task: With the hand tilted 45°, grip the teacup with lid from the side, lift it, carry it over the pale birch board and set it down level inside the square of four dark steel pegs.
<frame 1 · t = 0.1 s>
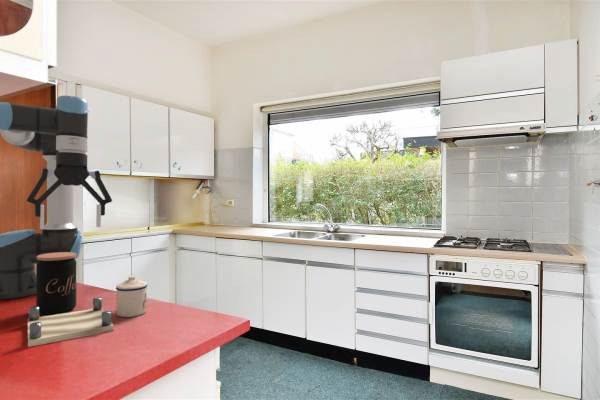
hand: (71, 227, 104), 28 cm above the counter, tool pointing down, fingers open, 13 cm apart
birch board: (69, 327, 103), on the counter
coffee jar: (56, 311, 117), on the counter
teacup with lid: (130, 312, 117), on the counter
steel pegs: (69, 315, 103), on the birch board, point 3 cm above the counter
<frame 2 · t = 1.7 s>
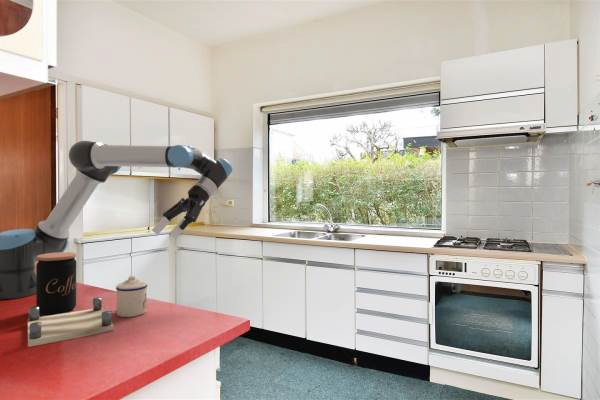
hand: (163, 234, 127), 24 cm above the counter, tool tilted 45°, fingers open, 13 cm apart
nothing on the counter moved.
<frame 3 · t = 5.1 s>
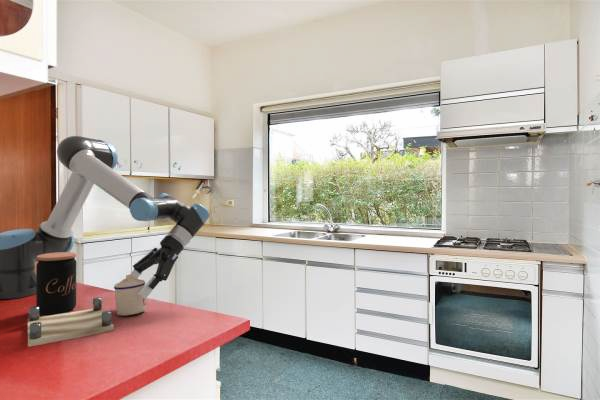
hand: (132, 292, 117), 6 cm above the counter, tool tilted 45°, fingers open, 13 cm apart
teacup with lid: (130, 311, 117), on the counter, touching gripper
everything else where it was.
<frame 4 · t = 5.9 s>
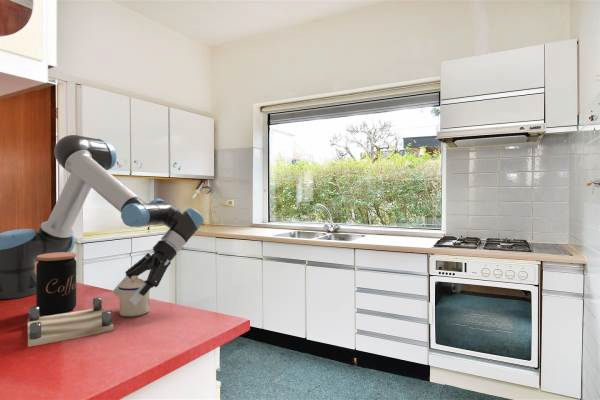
hand: (123, 298, 116), 5 cm above the counter, tool tilted 45°, fingers open, 13 cm apart
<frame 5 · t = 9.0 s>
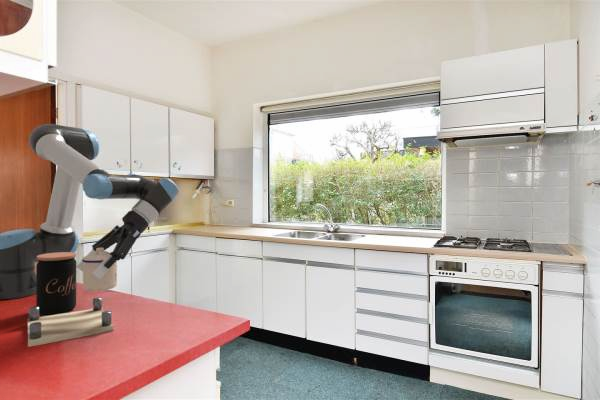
hand: (87, 272, 106), 15 cm above the counter, tool tilted 45°, fingers closed on teacup with lid, 12 cm apart
teacup with lid: (97, 287, 108), point 10 cm above the counter, touching gripper
everything else where it was.
when the fingers open (7 cm above the counter, at t = 12.0 s): teacup with lid drops 1 cm, resting on birch board.
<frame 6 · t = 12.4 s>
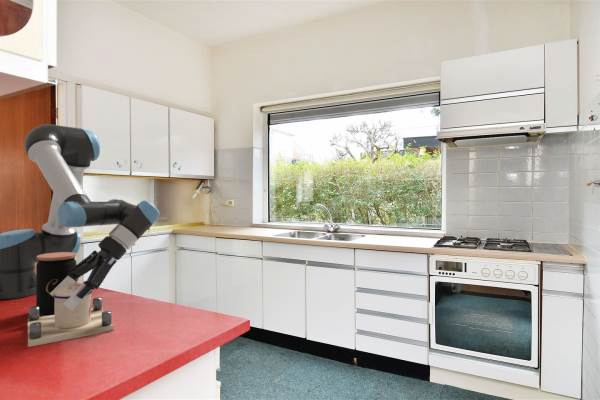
hand: (60, 302, 101), 8 cm above the counter, tool tilted 45°, fingers open, 13 cm apart
teacup with lid: (70, 322, 103), point 1 cm above the counter, touching birch board
everything else where it was.
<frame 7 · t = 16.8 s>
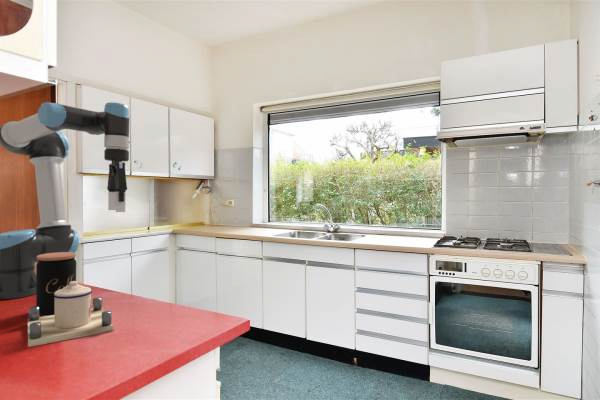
hand: (116, 211, 126), 32 cm above the counter, tool pointing down, fingers open, 13 cm apart
nothing on the counter moved.
at the end: teacup with lid inside the target area on the birch board (0.3 cm from its centre), point 1.3 cm above the birch board's base; teacup with lid tilted 0°; the gripper is holding nothing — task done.
